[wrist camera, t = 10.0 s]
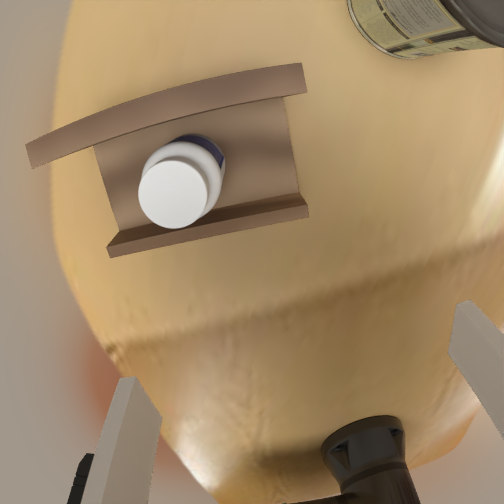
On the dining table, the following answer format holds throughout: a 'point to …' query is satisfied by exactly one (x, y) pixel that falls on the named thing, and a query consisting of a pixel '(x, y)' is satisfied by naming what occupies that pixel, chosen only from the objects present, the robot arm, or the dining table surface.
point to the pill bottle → (182, 181)
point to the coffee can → (429, 25)
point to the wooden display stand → (194, 122)
